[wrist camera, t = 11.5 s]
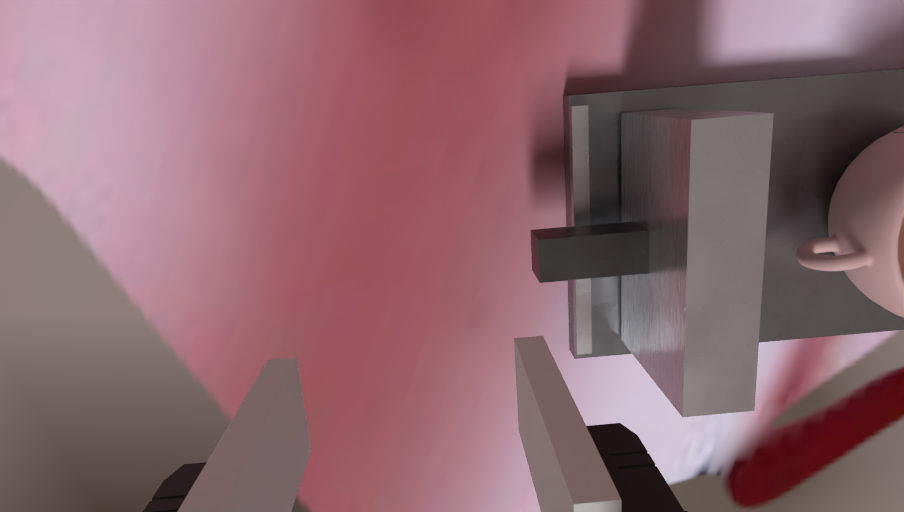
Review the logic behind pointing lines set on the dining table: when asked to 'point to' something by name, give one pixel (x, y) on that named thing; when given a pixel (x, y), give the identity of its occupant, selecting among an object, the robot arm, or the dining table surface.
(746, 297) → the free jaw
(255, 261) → the dining table surface
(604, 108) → the vise bed
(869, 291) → the mug
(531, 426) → the robot arm
